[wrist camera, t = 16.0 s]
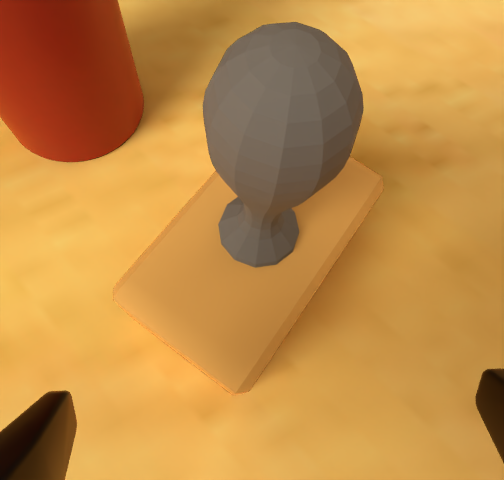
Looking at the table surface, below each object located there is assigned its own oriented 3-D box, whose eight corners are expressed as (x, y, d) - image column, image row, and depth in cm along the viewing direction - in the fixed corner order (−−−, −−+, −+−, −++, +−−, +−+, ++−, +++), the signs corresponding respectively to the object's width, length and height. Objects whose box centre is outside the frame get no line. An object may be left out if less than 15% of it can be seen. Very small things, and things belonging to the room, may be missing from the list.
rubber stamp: (262, 154, 20) (308, -142, 9) (361, 217, 19) (546, -28, 8) (127, 314, 17) (-53, 153, 6) (239, 400, 16) (274, 399, 5)
